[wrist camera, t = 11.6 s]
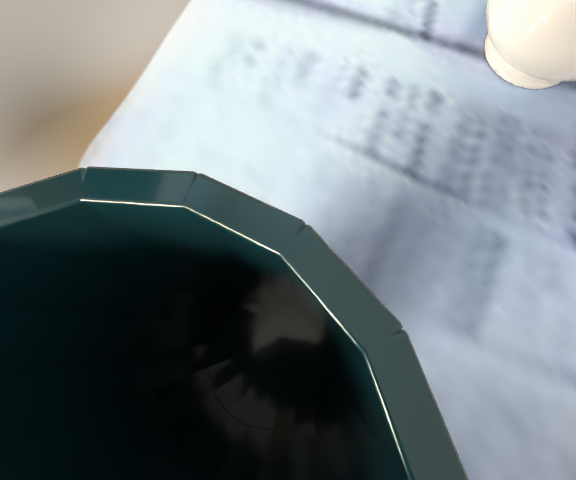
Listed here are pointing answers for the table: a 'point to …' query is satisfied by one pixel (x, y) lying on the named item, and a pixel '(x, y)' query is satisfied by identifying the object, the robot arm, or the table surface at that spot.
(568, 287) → the table surface
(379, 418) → the pen cup
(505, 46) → the flower vase
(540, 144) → the table surface
